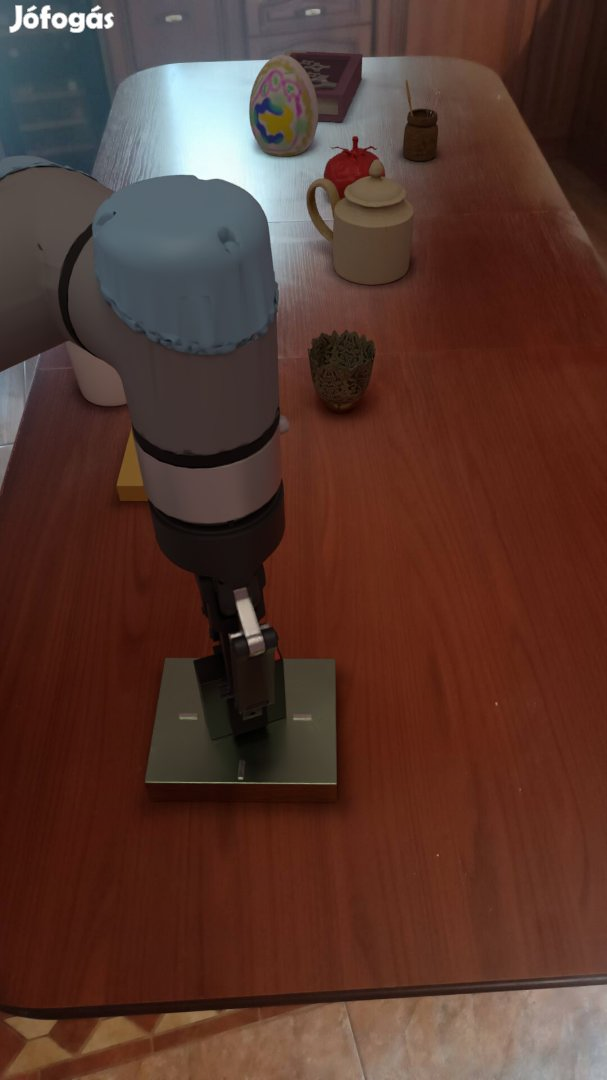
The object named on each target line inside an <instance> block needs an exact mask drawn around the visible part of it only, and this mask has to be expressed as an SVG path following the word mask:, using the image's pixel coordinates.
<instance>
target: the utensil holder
mask: <svg viewBox="0 0 607 1080" xmlns="http://www.w3.org/2000/svg"><path fill="white" fill-rule="evenodd" d="M405 88H406V89H405V90H406V96H407V102H408V107H409V111H408V113H407V117H406V121H407V123H406V124H405V126H404V131H403V141H402V154H403V156H404V158H405V159H407V160H410V161H413V162H426V161H427V162H428V161H430V160H432V159H434V158H435V156H436V154H437V148H438V139H439V126H438V124H437V122H438V110H439V109H440V106H441V104H442V102H440V101H442V100H443V98H441V97H439V98H438V102H437V105H436V108H435V110H433V107H434V103H435V99H436V97H437V94H438V91H439V96H442V94H443V92H442V91H441V90H440V89H439V88H432V91H430V92H429V93H428V96H427V100H426V101H428V102H425V103H426V105H425V106H426V107H428V106H429V105H430V104H429V103H430V101H431V98H430V97H432V96H433V93H434V92H435V96H434V99H433V102H432V106H431V109H430V108H414V109H413V107H412V100H411V99H412V98H411V92H410V86H409V82H408V79H406V80H405ZM440 99H441V100H440ZM439 103H440V104H439Z"/></svg>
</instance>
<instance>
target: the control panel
mask: <svg viewBox="0 0 607 1080" xmlns="http://www.w3.org/2000/svg"><path fill="white" fill-rule="evenodd" d="M200 658H201V657H165V658H164V659H163V660H164V661H163V668H162V673H161V679H160V686H159V690H158V691H159V692H158V697H157V704H156V710H155V715H154V716H155V717H154V723H153V729H152V735H151V739H150V747H149V751H148V752H149V753H148V758H147V759H148V760H147V764H146V771H145V778H144V785H145V787H146V791H147V794H148V797H149V799H150V801H151V802H231V803H232V802H234V803H235V802H236V803H237V802H238V803H245V802H246V803H333V804H334V803H337V798H338V747H337V745H338V744H337V743H338V742H337V741H338V740H337V739H338V737H337V677H336V676H337V674H336V673H337V670H336V669H337V666H336V665H337V662H336V661H337V660H336V658H301V657H300V658H297V657H296V658H295V657H294V658H283V657H282V658H283V661H284V679H285V696H286V714H287V716H286V717H284V718H281V719H277V720H274V721H271V722H268V726H264V727H261V728H258V729H255V730H252V731H249V732H246V733H242V734H239V735H236V736H234V735H233V733H232V734H229V735H226V736H223V737H219V738H216V739H213V740H211V738H210V734H209V731H208V727H207V724H206V721H205V717H204V713H203V708H202V703H201V698H200V693H199V688H198V683H197V678H196V673H195V668H194V663H193V660H196V659H200Z"/></svg>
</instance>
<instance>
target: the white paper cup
mask: <svg viewBox="0 0 607 1080" xmlns="http://www.w3.org/2000/svg"><path fill="white" fill-rule="evenodd" d="M63 344H64V347H65V350H66V354H67V356H68V360H69V362H70V365H71V368H72V371H73V373H74V376H75V380H76V382H77V385H78V387H79V390H80V393H81V395H82V396H83V398H84V399H85V400H86V401H88V402H89V403H91V404H93V405H97V406H101V407H119V406H125V405H127V401H126V397H125V393H124V389H123V384H122V380H121V378H120V376H119V374H118V373H117V371H116V370H115V369H114V368H113V367H112V366H110V365H109V364H107V363H106V362H104V361H103V360H101V359H98V358H96V357H94V356H93V355H91V354H90V353H89V352H87V351H86V350H84V349H82V348H81V347H79V346H77V345H76V344H74V343H72V342H71V341H67V342H64V343H63Z"/></svg>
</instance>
